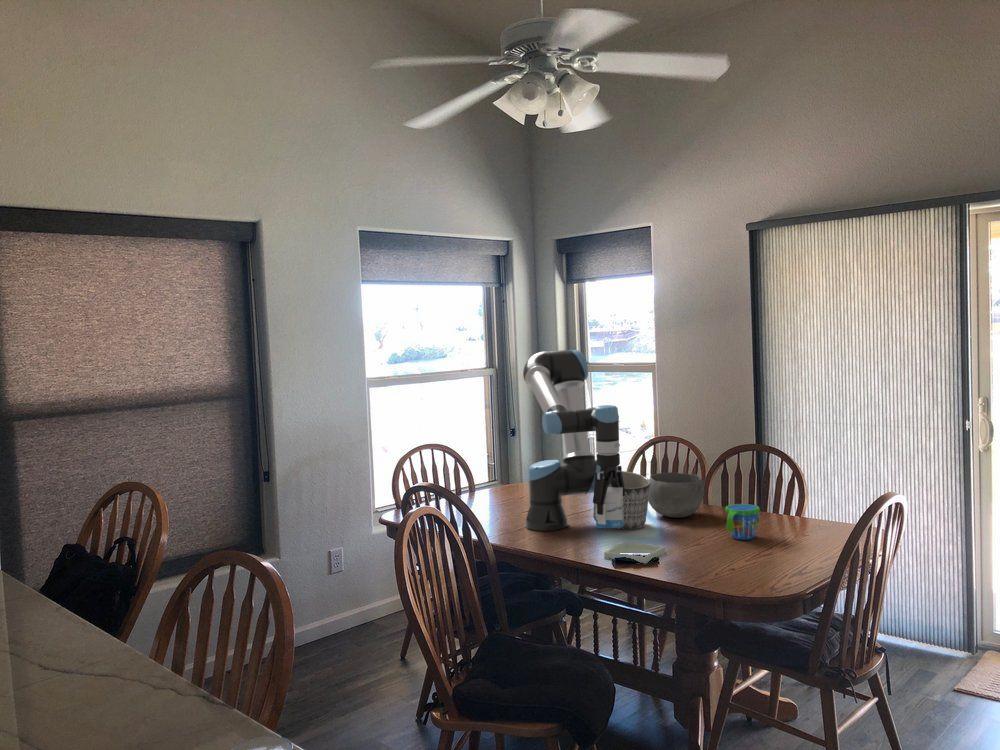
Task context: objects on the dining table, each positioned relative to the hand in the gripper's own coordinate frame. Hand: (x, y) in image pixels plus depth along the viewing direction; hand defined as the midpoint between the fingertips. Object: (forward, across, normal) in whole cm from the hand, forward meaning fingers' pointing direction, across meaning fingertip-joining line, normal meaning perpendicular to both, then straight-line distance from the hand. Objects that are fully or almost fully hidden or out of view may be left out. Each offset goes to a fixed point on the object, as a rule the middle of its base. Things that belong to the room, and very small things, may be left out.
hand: (610, 519), depth 270 cm
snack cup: (+8, +24, -36) cm, 44 cm away
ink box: (+2, 0, 0) cm, 2 cm away
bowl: (+9, +43, -4) cm, 44 cm away
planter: (+8, +21, +8) cm, 24 cm away
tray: (+7, -10, -14) cm, 18 cm away
